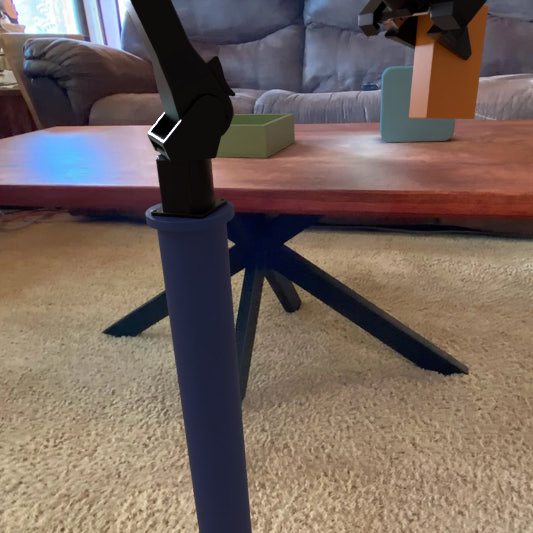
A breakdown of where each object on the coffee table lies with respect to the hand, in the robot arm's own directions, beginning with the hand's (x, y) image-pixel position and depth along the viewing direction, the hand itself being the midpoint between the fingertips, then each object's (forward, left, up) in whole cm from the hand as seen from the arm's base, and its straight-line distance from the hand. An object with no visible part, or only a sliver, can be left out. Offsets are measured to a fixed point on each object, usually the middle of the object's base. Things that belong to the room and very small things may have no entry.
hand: (455, 57), depth 63 cm
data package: (+21, +6, -14) cm, 26 cm away
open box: (+10, +34, -14) cm, 38 cm away
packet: (-2, +1, -7) cm, 7 cm away
